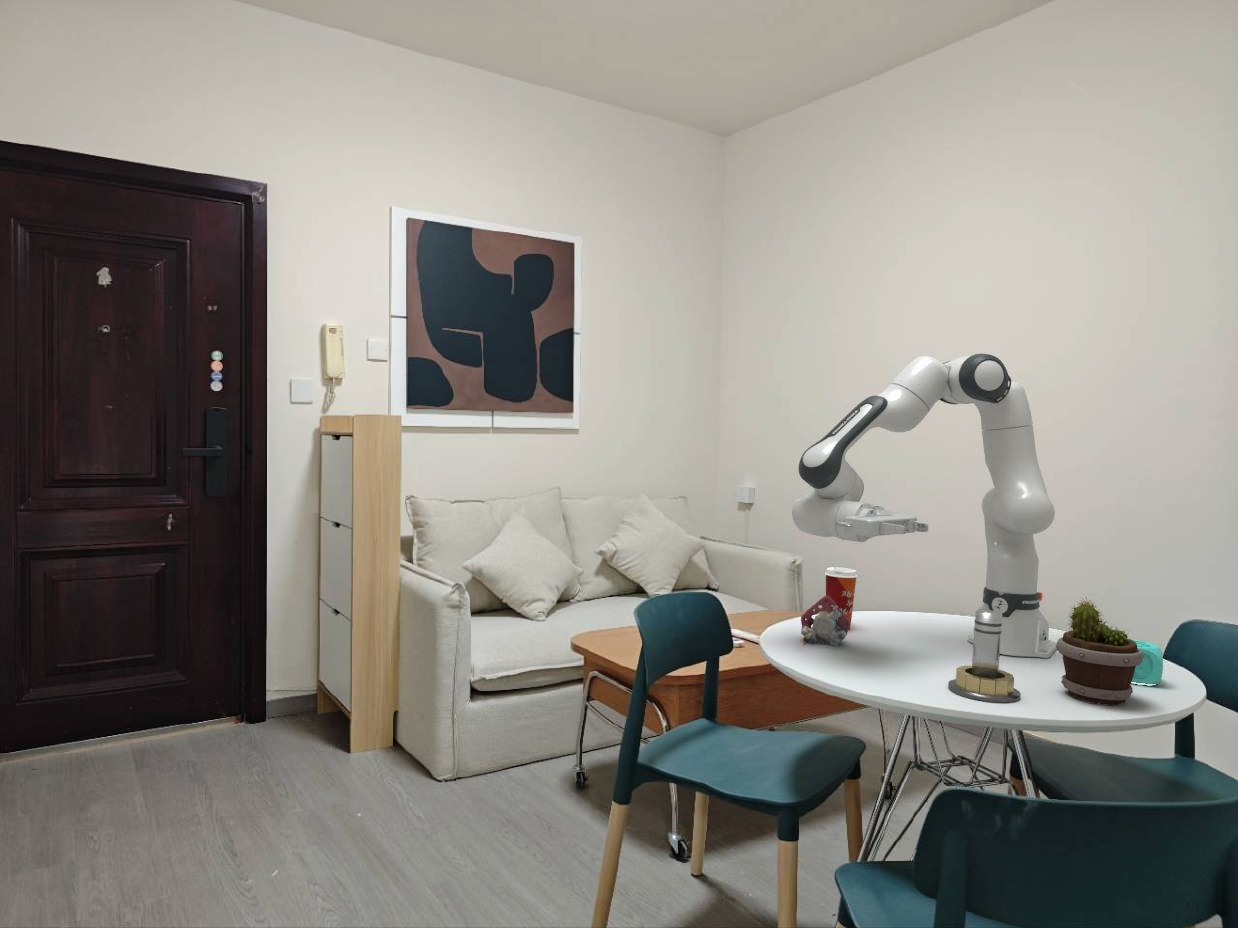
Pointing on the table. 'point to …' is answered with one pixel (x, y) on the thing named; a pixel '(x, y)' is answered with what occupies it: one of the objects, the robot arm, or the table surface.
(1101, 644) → the flowerpot
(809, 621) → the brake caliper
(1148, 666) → the decorative dice
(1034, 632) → the robot arm
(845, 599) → the coffee cup
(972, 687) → the ring seat
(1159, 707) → the table surface
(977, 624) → the piston
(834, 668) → the table surface
